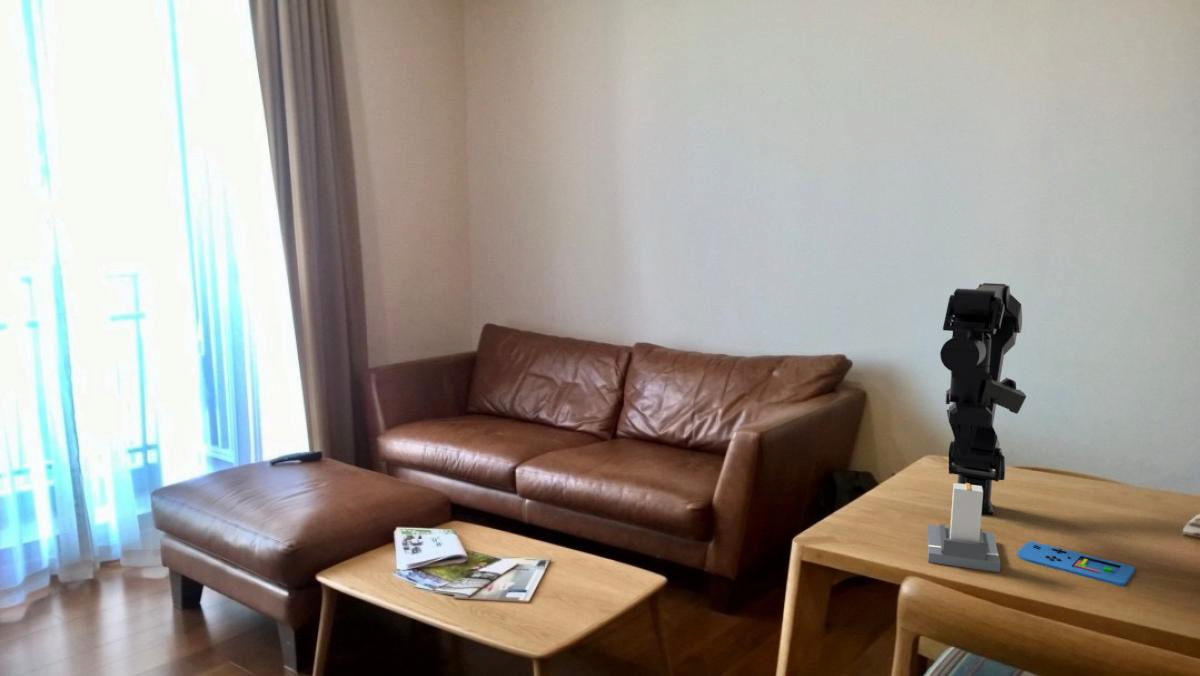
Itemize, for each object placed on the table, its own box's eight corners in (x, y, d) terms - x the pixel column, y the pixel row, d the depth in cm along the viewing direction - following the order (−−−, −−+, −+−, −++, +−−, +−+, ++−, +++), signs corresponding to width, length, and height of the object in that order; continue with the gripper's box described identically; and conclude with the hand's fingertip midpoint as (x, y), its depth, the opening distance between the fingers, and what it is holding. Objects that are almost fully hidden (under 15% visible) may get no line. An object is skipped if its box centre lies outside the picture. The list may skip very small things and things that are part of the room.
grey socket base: (927, 533, 140) (928, 510, 140) (992, 541, 137) (994, 518, 136) (928, 562, 128) (929, 538, 128) (999, 572, 125) (1001, 547, 124)
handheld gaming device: (1029, 539, 136) (1136, 565, 126) (1028, 545, 136) (1135, 572, 126) (1013, 553, 130) (1124, 582, 120) (1012, 560, 130) (1123, 589, 120)
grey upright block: (949, 544, 131) (953, 481, 129) (976, 547, 129) (981, 484, 128) (949, 551, 128) (954, 487, 127) (978, 555, 127) (983, 490, 125)
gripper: (1031, 377, 127) (1023, 476, 129) (1018, 359, 144) (1011, 446, 146) (952, 372, 131) (945, 468, 133) (948, 355, 148) (942, 440, 150)
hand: (963, 455), depth 140 cm, fingers closed
